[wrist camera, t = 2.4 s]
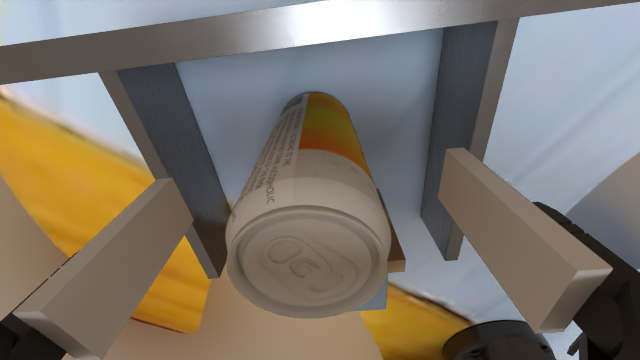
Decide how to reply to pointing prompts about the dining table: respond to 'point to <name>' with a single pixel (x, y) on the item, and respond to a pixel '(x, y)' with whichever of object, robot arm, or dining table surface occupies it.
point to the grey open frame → (274, 33)
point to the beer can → (309, 218)
